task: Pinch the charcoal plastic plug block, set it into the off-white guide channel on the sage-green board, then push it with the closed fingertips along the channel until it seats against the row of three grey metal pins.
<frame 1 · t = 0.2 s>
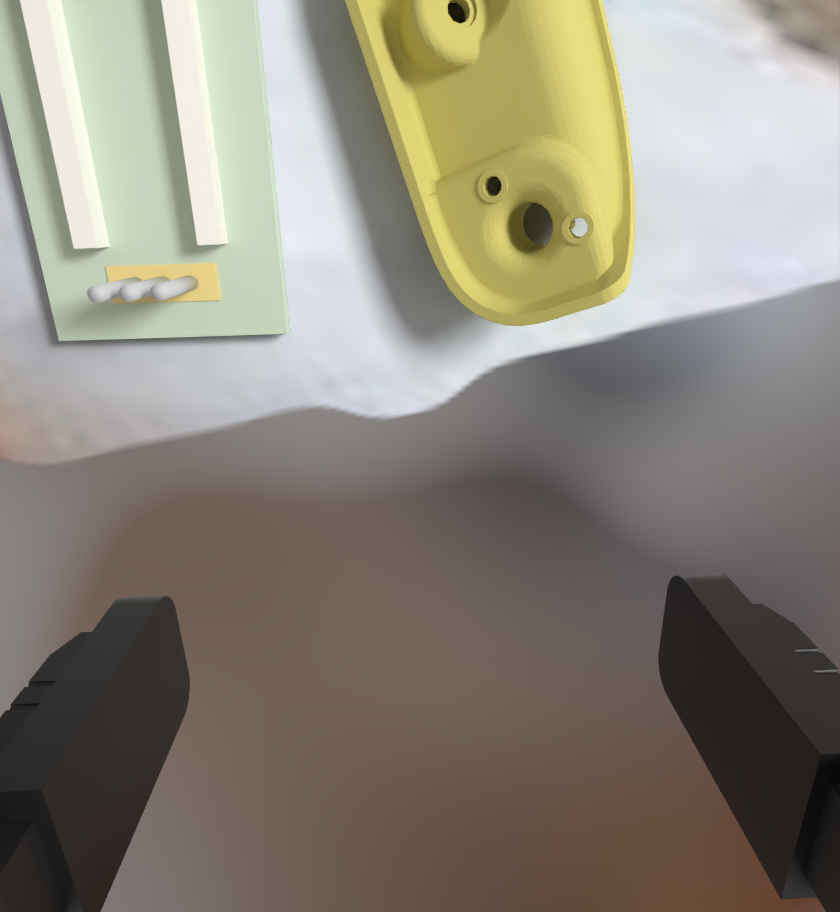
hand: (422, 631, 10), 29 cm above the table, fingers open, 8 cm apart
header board: (152, 166, 33), on the table
plastic component: (492, 119, 33), on the table
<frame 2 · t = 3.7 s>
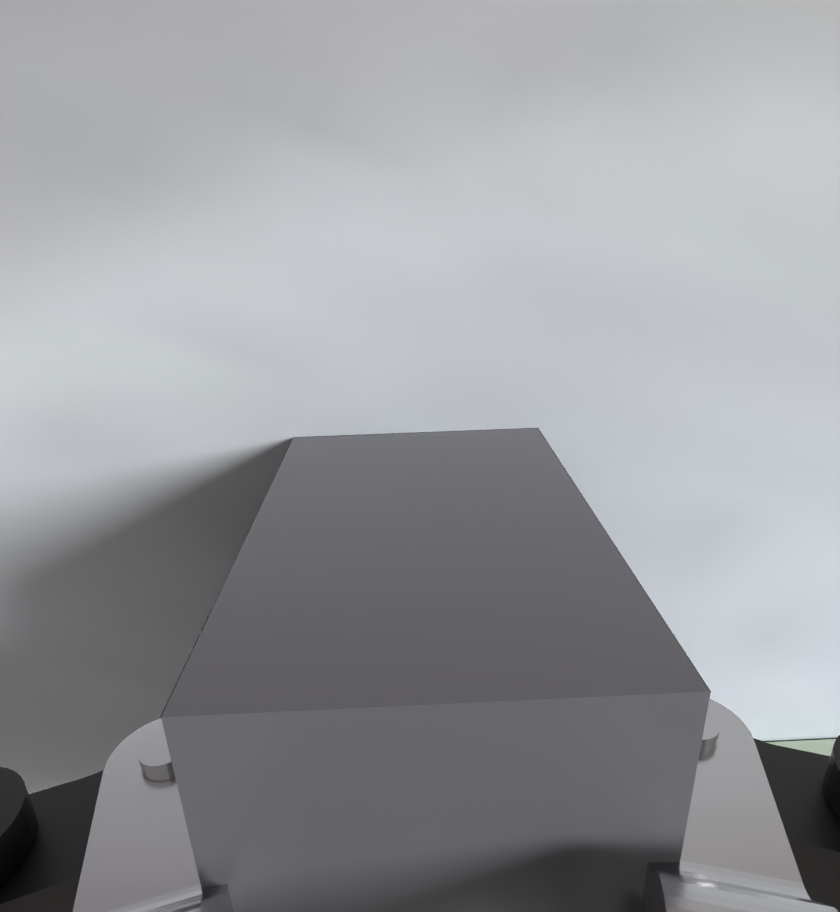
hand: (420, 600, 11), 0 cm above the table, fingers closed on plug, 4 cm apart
plug: (421, 588, 11), on the table, touching gripper
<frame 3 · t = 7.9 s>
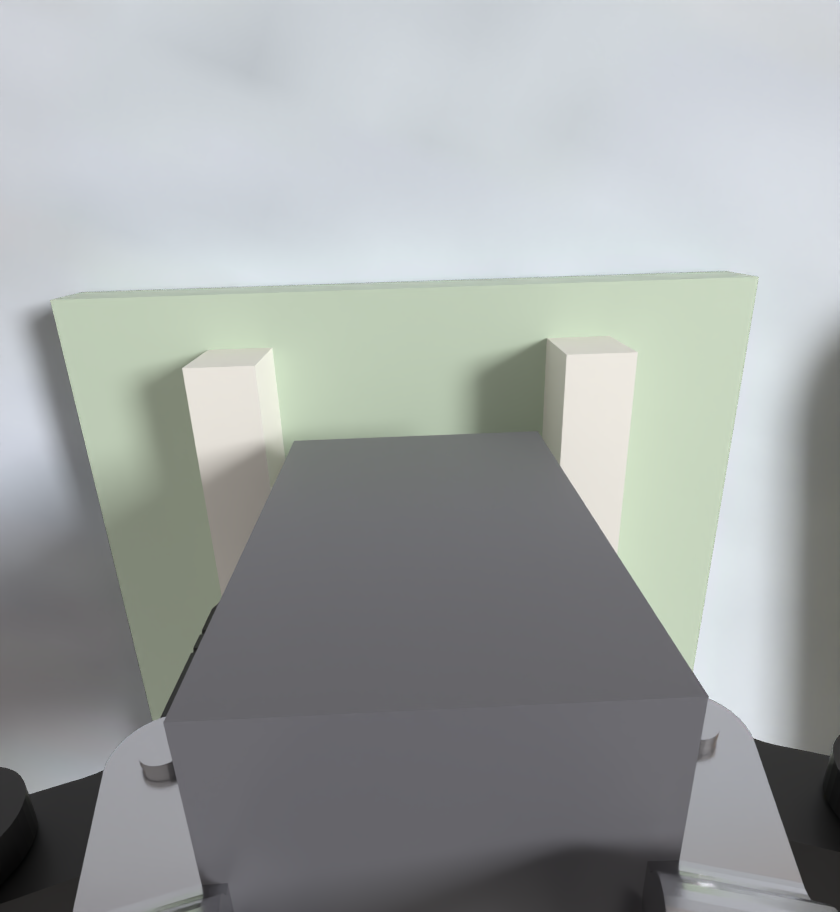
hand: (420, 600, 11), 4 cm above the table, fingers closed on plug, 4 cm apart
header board: (420, 646, 16), on the table
plug: (421, 591, 11), point 3 cm above the table, touching gripper
when the fingers open (3 cm above the table, at t = 8.3 s): plug drops 2 cm, point 1 cm above the table.
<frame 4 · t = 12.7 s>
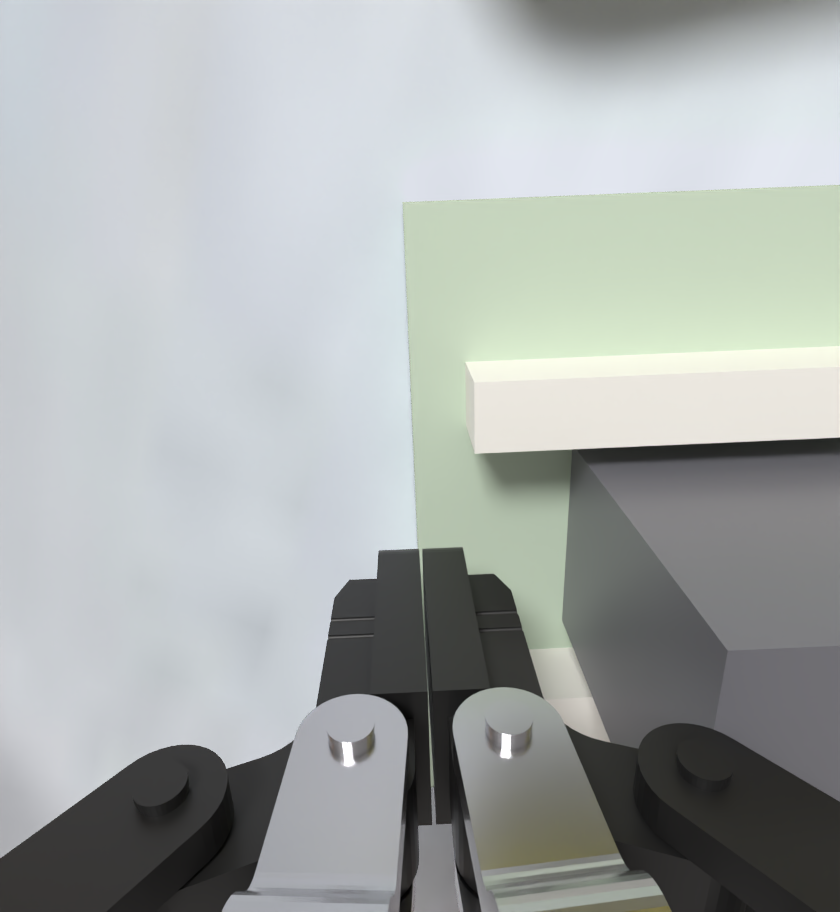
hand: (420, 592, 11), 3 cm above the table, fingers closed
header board: (821, 503, 14), on the table
plug: (714, 531, 12), point 1 cm above the table, touching gripper
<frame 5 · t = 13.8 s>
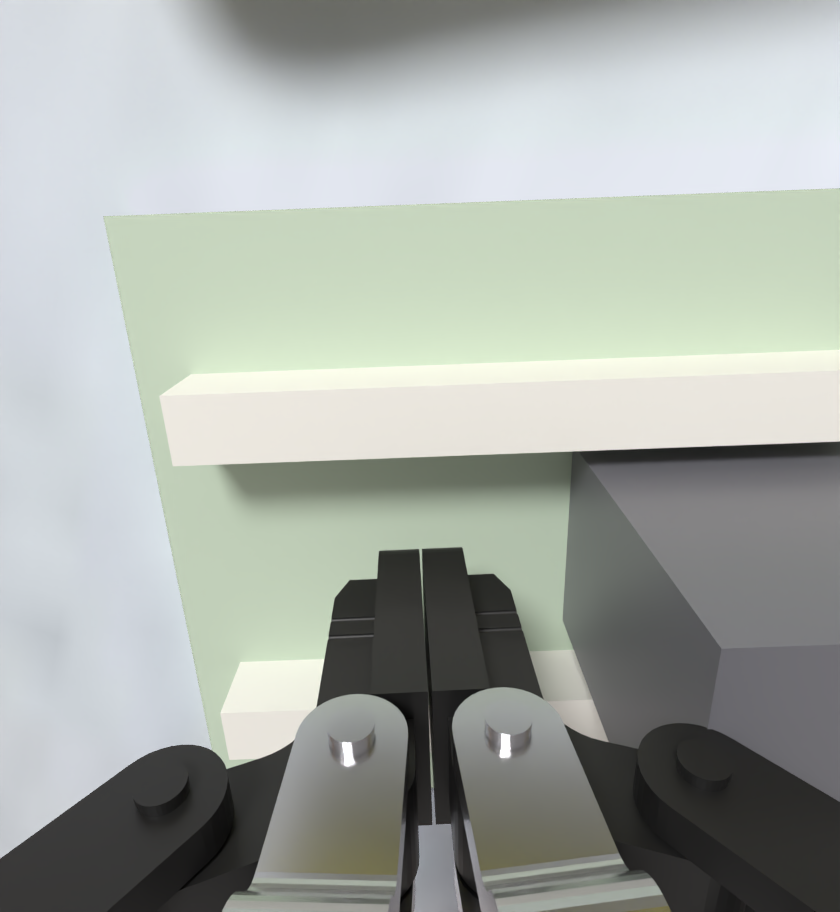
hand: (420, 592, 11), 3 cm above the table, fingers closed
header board: (599, 516, 14), on the table
plug: (715, 531, 12), point 1 cm above the table, touching gripper, hand, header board
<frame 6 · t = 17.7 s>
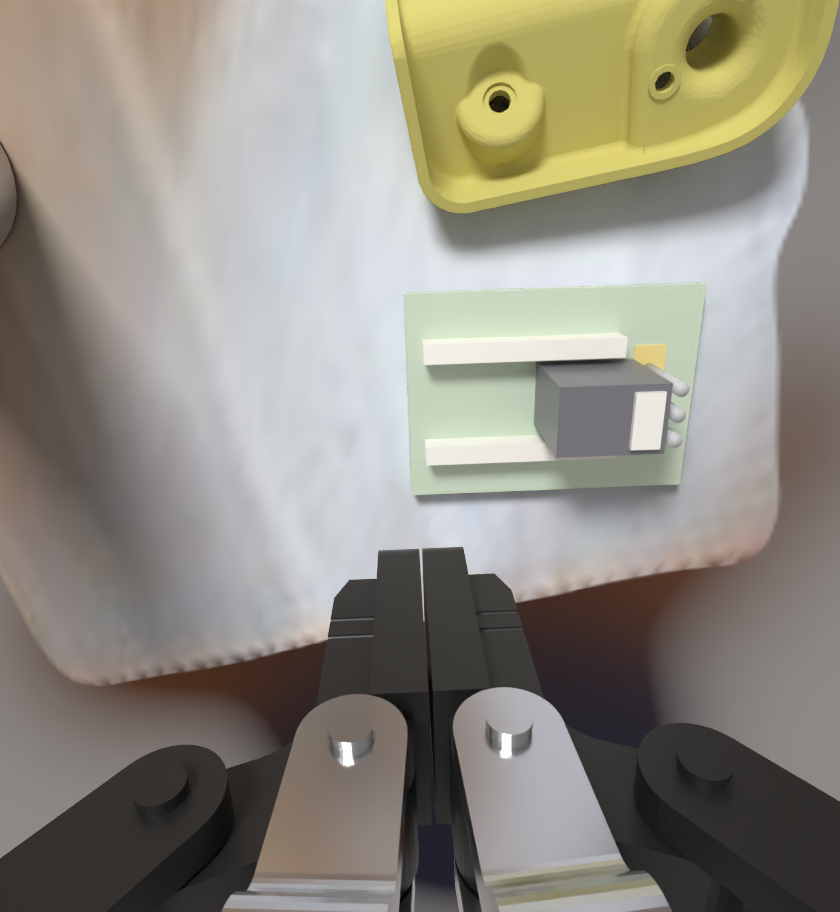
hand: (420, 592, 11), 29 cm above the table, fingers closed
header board: (546, 390, 40), on the table
plastic component: (574, 78, 34), on the table
plug: (582, 391, 39), point 1 cm above the table, touching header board
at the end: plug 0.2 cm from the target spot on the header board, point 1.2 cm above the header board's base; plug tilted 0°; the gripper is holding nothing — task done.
